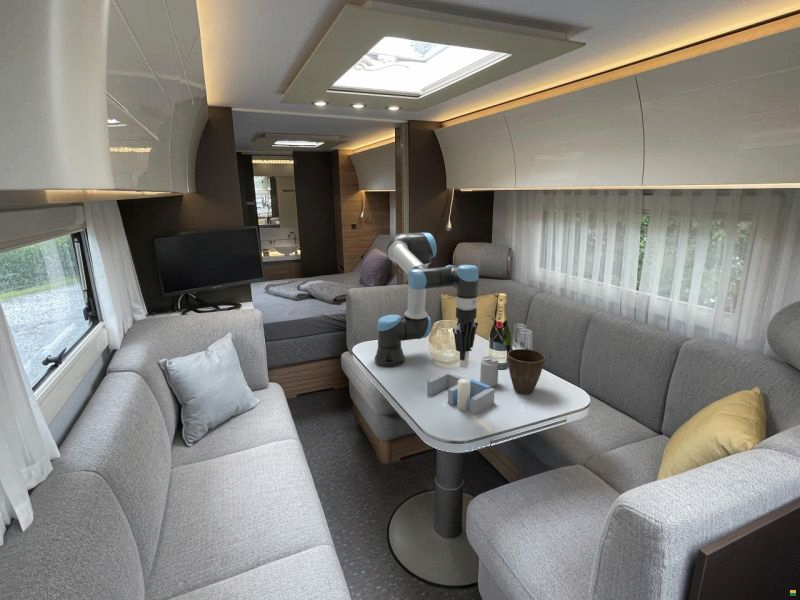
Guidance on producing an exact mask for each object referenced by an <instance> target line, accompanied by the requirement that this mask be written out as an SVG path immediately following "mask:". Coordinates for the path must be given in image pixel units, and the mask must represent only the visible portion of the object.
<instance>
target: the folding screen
mask: <svg viewBox="0 0 800 600" xmlns="http://www.w3.org/2000/svg"><path fill="white" fill-rule="evenodd" d="M459 379H467V380H470V408H469V413H470V414H472V415H475V416H476V415H477V414H479V413H480V412H482V411H483V410H485V409H486V408H488V407H490V406H491V405H493V404H494V403H495V393H496V392H495V388H493V387H490V386H489V385H486V384H483V383H481V382H480V381H477V380H475V379H468V378H465V377H464V376H460V375H457V374H455V373H452V372H450V371H446V372H443V373H441V374H439V375H437V376H435V377H432V378H431V379H429V380H427V384H426V385H427V386H426V387H427V389H426V390H427V395H429V396H433V395H435V394H437V393H439V392H441V391H443V390H445V389H447V403H448V404H450V405H451V406H454V405H455V404H456V405H457V393H458V380H459Z"/></svg>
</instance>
